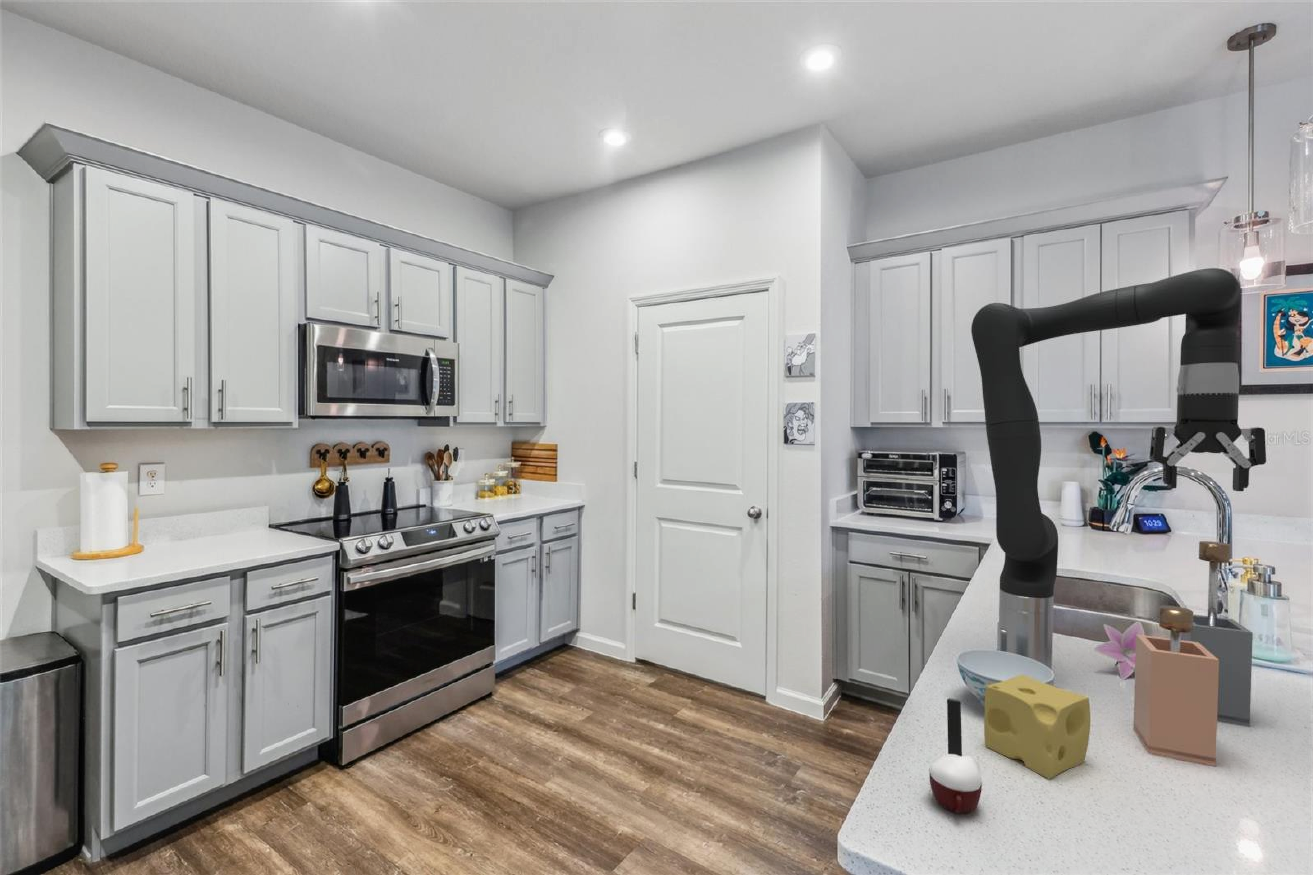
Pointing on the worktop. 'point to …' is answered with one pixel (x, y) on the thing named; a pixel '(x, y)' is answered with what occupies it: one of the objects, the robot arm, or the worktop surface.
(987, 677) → the chinaware
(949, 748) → the rounded three-tone fixture
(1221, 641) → the grey square holder
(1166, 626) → the bronze knob plunger
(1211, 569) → the tall bronze-capped rod
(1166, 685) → the press terracotta
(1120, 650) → the lily
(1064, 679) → the worktop surface
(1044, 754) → the cheese
